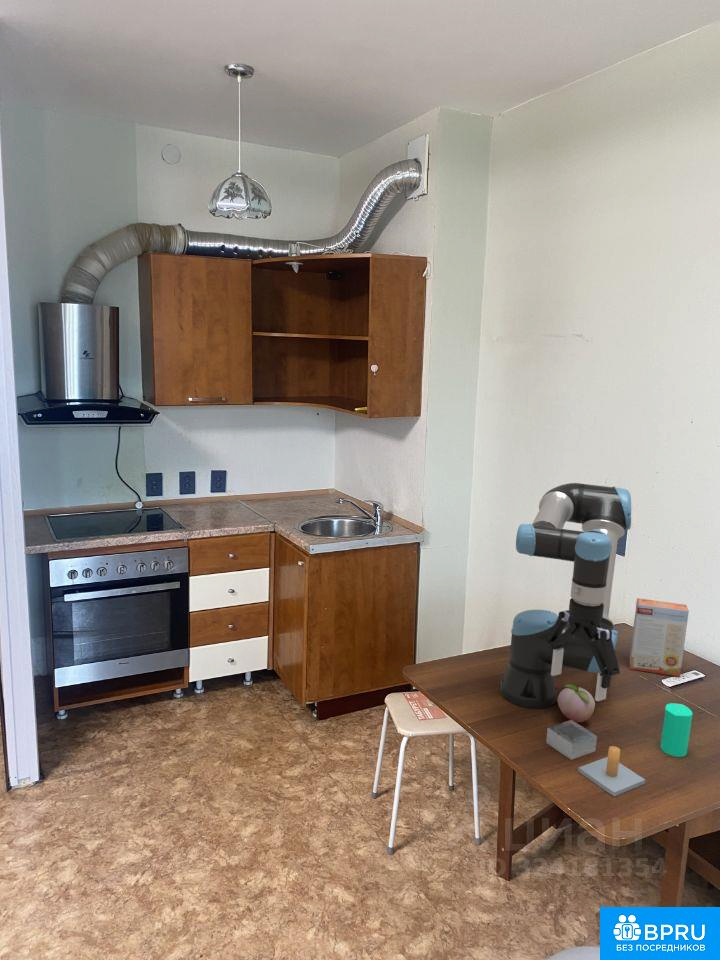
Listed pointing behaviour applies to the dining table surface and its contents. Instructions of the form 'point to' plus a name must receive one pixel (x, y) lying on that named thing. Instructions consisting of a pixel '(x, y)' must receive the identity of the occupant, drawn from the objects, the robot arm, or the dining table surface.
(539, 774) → the dining table surface
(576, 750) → the gray square frame
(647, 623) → the cracker box
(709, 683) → the dining table surface
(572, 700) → the decorative fruit
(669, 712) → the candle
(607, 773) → the keeper
